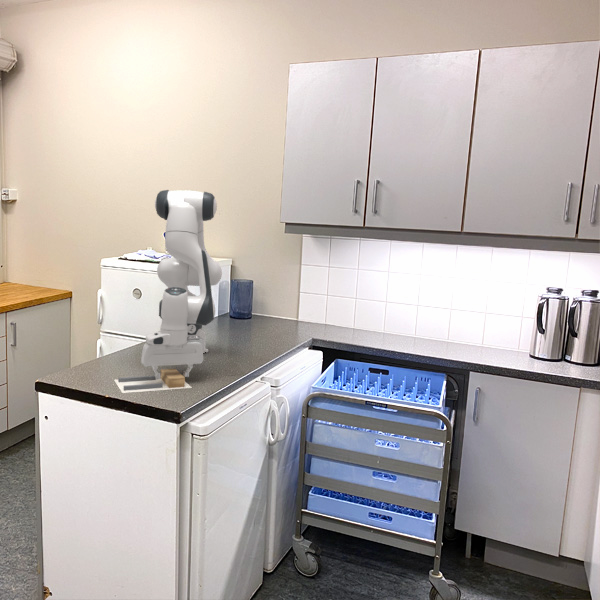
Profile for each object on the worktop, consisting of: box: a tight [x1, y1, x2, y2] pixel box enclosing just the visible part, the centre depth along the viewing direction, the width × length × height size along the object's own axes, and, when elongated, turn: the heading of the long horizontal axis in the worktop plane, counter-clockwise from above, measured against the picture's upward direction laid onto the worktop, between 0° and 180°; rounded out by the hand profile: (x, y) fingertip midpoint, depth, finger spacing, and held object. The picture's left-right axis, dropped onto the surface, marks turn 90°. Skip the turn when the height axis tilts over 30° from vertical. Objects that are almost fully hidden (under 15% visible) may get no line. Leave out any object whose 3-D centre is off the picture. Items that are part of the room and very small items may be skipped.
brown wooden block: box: [160, 368, 186, 388], centre depth 188 cm, size 12×5×3 cm, turn 28°
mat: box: [113, 375, 193, 394], centre depth 185 cm, size 15×22×2 cm
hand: (172, 377), depth 188 cm, fingers open, 8 cm apart
